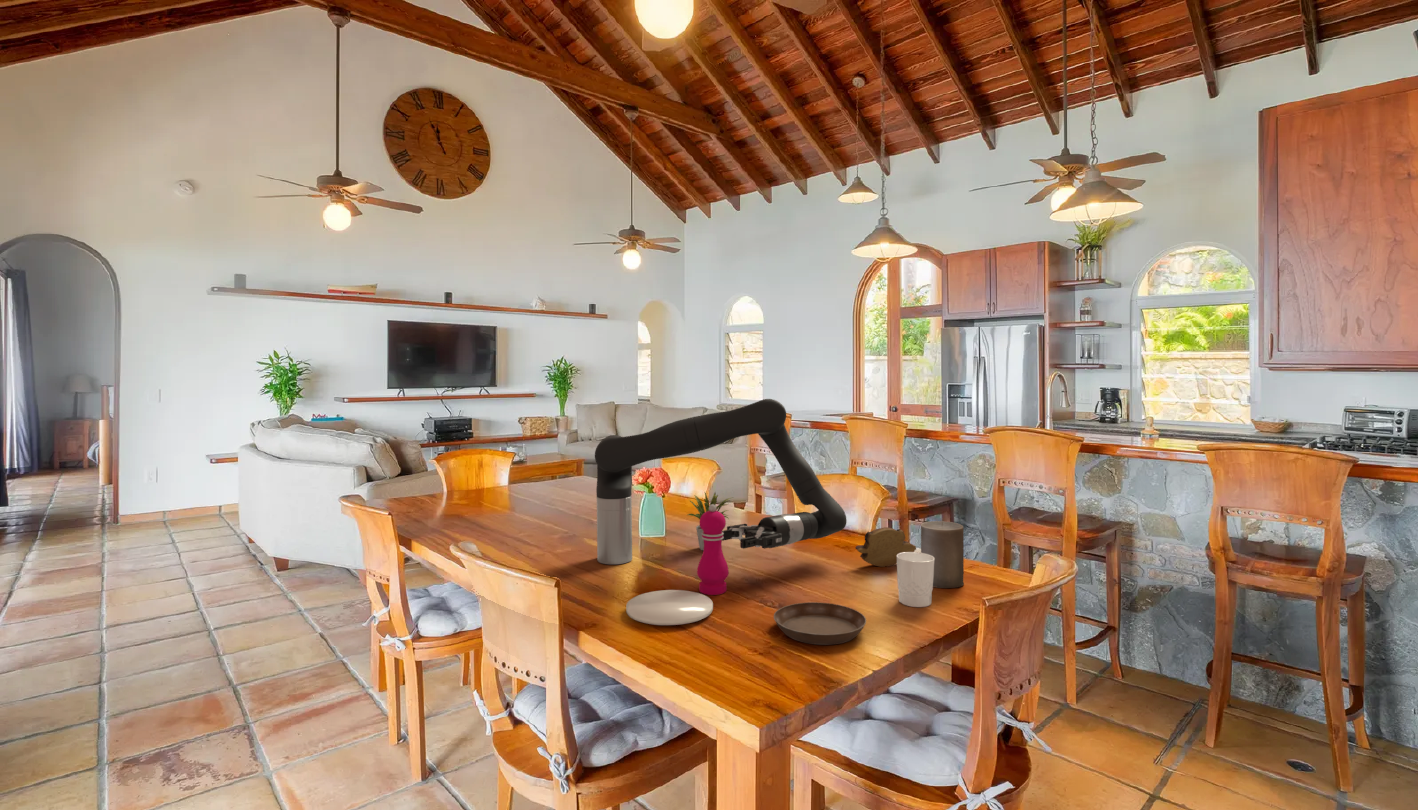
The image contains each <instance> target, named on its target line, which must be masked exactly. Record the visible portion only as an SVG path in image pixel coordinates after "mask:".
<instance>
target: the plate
mask: <svg viewBox="0 0 1418 810" xmlns="http://www.w3.org/2000/svg"><path fill="white" fill-rule="evenodd" d="M625 610H626V611H625V612H626V615H627V616H628V617H629V618H631V619H632V620H635V621H636V622H640V623H644V624H647V625H648V624H649V625H654V626H676V625H677V626H678V625H686V624H690V623H695V622H698V621H702V619H705V618H707V617H709V616H710V615H711V614H712V612H713V610H714V603H713V600H712V599H711V598H710V597H709V596H707V595H706V594H703V593H701V592H700V593H699V592H695V591H689V590H683V589H665V590H655V591H654V590H653V591H649V592H645V593H641V594H639V595H636V596H634V597H632V598H631V599H629V600H628V601H627V602H626V608H625Z"/></svg>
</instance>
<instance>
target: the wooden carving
mask: <svg viewBox="0 0 1418 810" xmlns="http://www.w3.org/2000/svg"><path fill="white" fill-rule="evenodd" d="M905 535H906V534H905V531H904V530H902V529H900V528H898V529H895V528H892V527H886V526H884V527H879V528H876V529H873V530H871V531H867V532H866V533H865V535H864V541H865V542H864V544H861V545H860V544H859V545H856V546H855V550H857V552H859V553H861V554H860V556H859V557H860V558H861V559H862V560H863V561H864V562H866V563H867V564H869V565H873V566H876V567H880V568H886V567H885V566H887V567H891V566H894V565H897V554H899V553H903V552H916V550H917V546H916V545H915V544H912V543H911V542H909V541H907V540H906V536H905Z"/></svg>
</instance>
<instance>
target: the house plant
mask: <svg viewBox="0 0 1418 810" xmlns="http://www.w3.org/2000/svg"><path fill="white" fill-rule="evenodd" d="M703 491H704V490H703ZM718 496H719V495H718V494H716V491H715V492H714V493H713V496H712V497H711V500H709V498H708V495H707V493H706V491H704V497H705V498H703V501H704V503H703V502H702V500H701V499H700V498H699V497H698V496H697V495H695V494H694V498H695V500H696V504H695V503H694V502H693V501H691V500H688V501H689V502H690V503H691V504H692V505H693V506H694V507H695V508H696V510H697V511H698V513H695V514H694V513H688V514H687V516H690V517H692V516H693V517H695V518H698V520H700V518H701V516H702V515H703V514H704V513H705V512H707V511H709V506H710V505H711V504H714V505H715V506H716V504H717V502H718V501H717V499H718ZM733 498H734V497H729V498H726V499H724V500H722V501H721V502H720V503H719V504H718V505H717V506H716V511H718V512H720V510H721V508H722V507H724V506H727V505H729V502H730V501H732V500H730V499H733ZM709 501H710V502H709ZM727 511H729V510H728V509H725V510H723V511H721V512H720V513H722V514H723V515H724V517H725V519H728V520H730V518H729V517H728V516H730V515H727V514H726V513H725V512H727ZM695 529H696V535H697V541H698V546H699V548H698V549H700V551H704V540H703V539H702V532H703V530H702V529H701V527H700V524H698V525H696V526H695Z"/></svg>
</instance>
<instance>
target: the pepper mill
mask: <svg viewBox="0 0 1418 810" xmlns="http://www.w3.org/2000/svg"><path fill="white" fill-rule="evenodd" d="M716 507H717V506H716V505H714V504H711V505H710V504H709V511H707V512H706V511H705V513H704V514H703V515H702V516H701V518H700V519H699V525H700V527H701V529H702V530H703V532H702V539H703V540H704V551H703V550H702V551H703V552H702V555H701V557H700V559H699V562H698V564H697V569H696V574H697V575H696V576H697V577H698V579H699V580H700V582H699V584H698V586H699V587H698V590H699V592H700V594H703V595H706V596H707V595H709V596H717V595H722V594H725V593H726V592H727V582H726V581H725V580H727V578H728V577H729V575H730V574H729V573H730V572H729V567H728V562H727V561H726V559H725V556H724V552H723V546H722V539H723V538H724V537H723V534H724V533H723V532H722V531H724V529H725V528H726V517H724V516H725V515H723V514H724V513H723V514H722V513H720V511H717V510H716Z"/></svg>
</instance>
